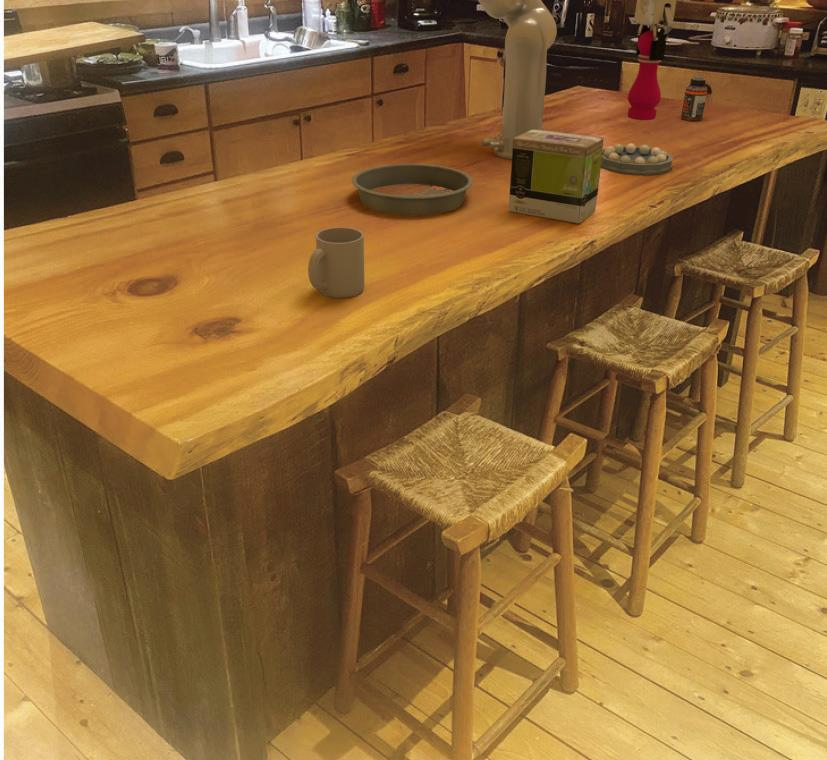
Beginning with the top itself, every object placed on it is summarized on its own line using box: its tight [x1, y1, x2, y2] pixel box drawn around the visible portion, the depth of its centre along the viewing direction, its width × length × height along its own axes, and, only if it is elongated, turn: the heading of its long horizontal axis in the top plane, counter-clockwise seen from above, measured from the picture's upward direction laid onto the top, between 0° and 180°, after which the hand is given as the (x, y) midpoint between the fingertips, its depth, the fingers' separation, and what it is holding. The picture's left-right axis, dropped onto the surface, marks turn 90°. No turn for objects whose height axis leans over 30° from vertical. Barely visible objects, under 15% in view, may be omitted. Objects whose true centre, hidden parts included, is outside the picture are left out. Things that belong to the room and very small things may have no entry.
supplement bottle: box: [680, 76, 708, 122], centre depth 237 cm, size 6×6×11 cm
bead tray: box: [600, 142, 674, 177], centre depth 195 cm, size 17×17×4 cm
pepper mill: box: [627, 24, 662, 121], centre depth 185 cm, size 7×7×20 cm
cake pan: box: [351, 163, 473, 217], centre depth 171 cm, size 25×25×4 cm
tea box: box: [508, 129, 605, 224], centre depth 162 cm, size 15×10×15 cm, turn 59°
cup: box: [307, 226, 365, 299], centre depth 127 cm, size 7×10×9 cm
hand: (649, 56), depth 184 cm, fingers closed on pepper mill, 6 cm apart
